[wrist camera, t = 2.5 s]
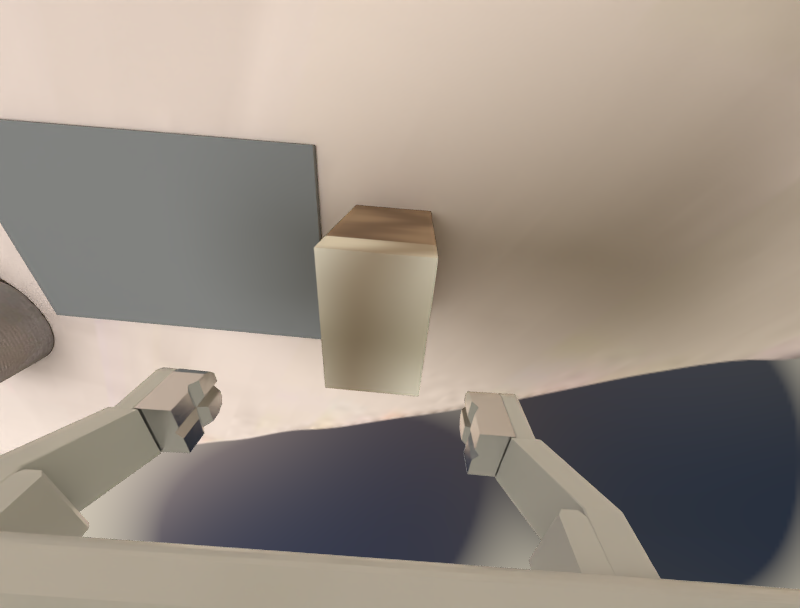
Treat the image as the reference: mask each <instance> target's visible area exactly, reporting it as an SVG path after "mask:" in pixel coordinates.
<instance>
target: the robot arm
mask: <svg viewBox="0 0 800 608" xmlns="http://www.w3.org/2000/svg"><path fill="white" fill-rule="evenodd" d="M216 382H217V379H216V377H215V374H214V373H212V372H207V371H197V370H187V369H175V368H165V367H163V368H160V369H158V370H156V371H155V372H154V373H153V374H151V375H150V376H149V377H148V378H147V379H146V380H145V381H143V382H142V383H141V384H140V385H139V386H138V387H137V388H135V389H134V390H133V391H132V392H131V393H130V394H129V395H127V396H126V397H125V398H124V399H123V400H122V401H120V402H119V403H118V404H117V405H116V406H115V407H107V408H105V409H103V410H101V411H98V412H96V413H94V414H92V415H90V416H87V417H85V418H83V419H81V420H78V421H76V422H74V423H72V424H70V425H67V426H65V427H63V428H61V429H58V430H56V431H54V432H52V433H49V434H47V435H45V436H43V437H41V438H38V439H36V440H34V441H32V442H29V443H27V444H25V445H23V446H21V447H18V448H16V449H14V450H12V451H9V452H7V453H5V454H3V455H0V608H800V589H790V588H776V587H761V586H749V585H736V584H722V583H708V582H695V581H681V580H668V579H660V577H659V575H658V574H657V572H656V570H655V568H654V567H653V565H652V563H651V561H650V560H649V558H648V556H647V555H646V553H645V551H644V549H643V548H642V546H641V544H640V542H639V541H638V539H637V537H636V535H635V534H634V532H633V530H632V529H631V527H630V525H629V523H628V522H627V520H626V518H625V517H624V515H623V513H622V512H621V511H620V510H619V509H618V508H617V507H616V506H614V505H613V504H612V503H611V502H610V501H609V500H608V499H607V498H606V497H604V496H603V495H602V494H601V493H600V492H599V491H598V490H596V489H595V488H594V487H593V486H592V485H591V484H590V483H589V482H587V481H586V480H585V479H584V478H583V477H582V476H581V475H580V474H578V473H577V472H576V471H575V470H574V469H573V468H572V467H570V466H569V465H568V464H567V463H566V462H565V461H564V460H563V459H562V458H560V457H559V456H558V455H557V454H556V453H555V452H553V450H551V449H550V448H549V447H548V446H547V445H546V444H545V443H543V442H542V441H541V440H537V439H535V437H534V435H533V433H532V430H531V428H530V426H529V423H528V421H527V419H526V416H525V414H524V412H523V410H522V407H521V405H520V403H519V400H518V398H517V396H516V395H514V394H502V393H499V394H497V393H486V392H471V391H467V393H466V395H465V399H464V401H465V406H466V407H464V408H463V409H462V411H461V415H460V434H461V440H462V441H463V442H464V443H465V444H466V446H465V450H464V458H465V463H466V469H467V473H468V474H474V475H484V476H494V477H496V480H497V481H498V482H499V484H500V485H501V486H502V488H503V489H504V490H505V492H506V493H507V495H508V496H509V497H510V499H511V500H512V502H513V503H514V504H515V505H516V507H517V508H518V510H519V511H520V512H521V514H522V515H523V517H524V518H525V519H526V521H527V522H528V523H529V525H530V526H531V527H532V529H533V530H534V531H535V533H536V534H537V536H538V537H539V538H540V540H541V541H540V543H539V545H538V546H537V548H536V549H535V551H534V553H533V554H532V556H531V557H530V559H529V563H530V566H531V570H530V569H517V568H503V567H489V566H475V565H461V564H448V563H433V562H420V561H405V560H393V559H379V558H366V557H352V556H339V555H324V554H311V553H298V552H284V551H270V550H256V549H243V548H228V547H215V546H202V545H201V546H200V545H188V544H174V543H160V542H146V541H133V540H118V539H105V538H91V537H82V536H83V534H84V533H85V532H86V531H87V530H88V528H89V522H88V521H87V520H86V519H85V518H84V517H83V516H82V515H81V513H80V511H81V510H83V509H84V508H85V507H87V506H88V505H90V504H91V503H92V502H93V501H95V500H97V499H98V498H99V497H101V496H102V495H103V494H105V493H106V492H107V491H109V490H110V489H112V488H113V487H115V486H116V485H117V484H119V483H120V482H121V481H123V480H124V479H126V478H127V477H129V476H130V475H131V474H133V473H134V472H136V471H137V470H138V469H140V468H141V467H143V466H144V465H145V464H147V463H148V462H150V461H151V460H152V459H154V458H155V457H156V456H158V455H159V454H161V452H179V453H190V452H191V451H192V450H193V448H194V447H195V446H196V444H197V443H198V441H199V440H200V439H201V437H202V436H203V434H204V426H206V425H207V424H209V423H211V422H212V421H214V419H215V418H216V416H217V415H218V413H219V411H220V408H221V405H222V395H221V392H220V390H218V389H217V388H216V387H215V386H214V385H215V383H216Z"/></svg>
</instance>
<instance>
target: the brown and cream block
mask: <svg viewBox="0 0 800 608" xmlns="http://www.w3.org/2000/svg"><path fill="white" fill-rule="evenodd" d="M314 255H315V268H316V280H317V292H318V305H319V317H320V329H321V341H322V354H323V366H324V378H325V388H335V389H345V390H356V391H366V392H377V393H387V394H398V395H408V396H419V390H420V383H421V376H422V369H423V362H424V355H425V348H426V341H427V334H428V327H429V320H430V313H431V307H432V300H433V293H434V286H435V279H436V272H437V265H438V252H437V246H436V240H435V234H434V228H433V222H432V216H431V211H422V210H410V209H398V208H386V207H374V206H363V205H356V206H355V207H354V208H353V209H352V210H351V211H350V212H349V213H348V214H347V215H346V216H345V217H344V218H343V219H342V220H341V221H340V222H339V223H338V224H337V225H336V226H335V227H334V228H333V229H332V230H331V231H330V232H329V233H328V234H327V235H326V236H325V237H324V238H323V239H322V240H321V241H320V242H319V243H318V244H317V245H316V246H315V247H314Z"/></svg>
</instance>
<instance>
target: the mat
mask: <svg viewBox="0 0 800 608" xmlns="http://www.w3.org/2000/svg"><path fill="white" fill-rule="evenodd" d="M0 223H1V225H2V226H3V228H4V230H5V231H6V233H7V234H8V236H9V238H10V239H11V241H12V242H13V244H14V246H15V247H16V249H17V251H18V252H19V254H20V255H21V257H22V259H23V260H24V262H25V264H26V265H27V267H28V268H29V270H30V272H31V273H32V275H33V277H34V278H35V280H36V281H37V283H38V285H39V286H40V288H41V289H42V291H43V293H44V294H45V296H46V298H47V299H48V301H49V302H50V304H51V306H52V307H53V309H54V311H55V312H56V314H57V315H65V316H76V317H86V318H97V319H108V320H119V321H130V322H141V323H151V324H162V325H173V326H184V327H195V328H206V329H216V330H227V331H238V332H249V333H260V334H271V335H282V336H292V337H303V338H314V339H321V329H320V317H319V305H318V292H317V280H316V268H315V255H314V247H315V246H316V245H317V244H318V243H319V242H320V241H321V228H320V213H319V198H318V183H317V168H316V154H315V145H308V144H296V143H283V142H271V141H259V140H247V139H234V138H222V137H210V136H198V135H185V134H173V133H161V132H149V131H137V130H124V129H112V128H100V127H88V126H75V125H63V124H51V123H39V122H26V121H14V120H2V119H0Z"/></svg>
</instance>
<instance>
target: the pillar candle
mask: <svg viewBox="0 0 800 608" xmlns="http://www.w3.org/2000/svg"><path fill="white" fill-rule="evenodd" d="M53 343H54V340H53V335H52V331H51V328H50V326H49V324H48V322H47V321H46V319H45V318H44V317H43V316H42V314H41V312H40V311H39V309H37V307H36V306H35V305H34V304H32V303H31V302H30V301H29V299H28V298H27V297H26V296H25V295H23V294H22V293H21V292H20V291H18V290H16V289H15V288H13V287H12V286H10V285H8V284H6V283H3V282H1V281H0V383H1V382H3V381H4V380H6V379H8V378H10V377H11V376H13V375H15V374H16V373H18V372H20V371H22V370H23V369H25V368H27V367H28V366H30V365H32V364H34V363H35V362H37V361H39V360H41V359H42V358H44V357H45V356H47V355H48V354H49V353H50V352H51V350H52V348H53Z"/></svg>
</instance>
